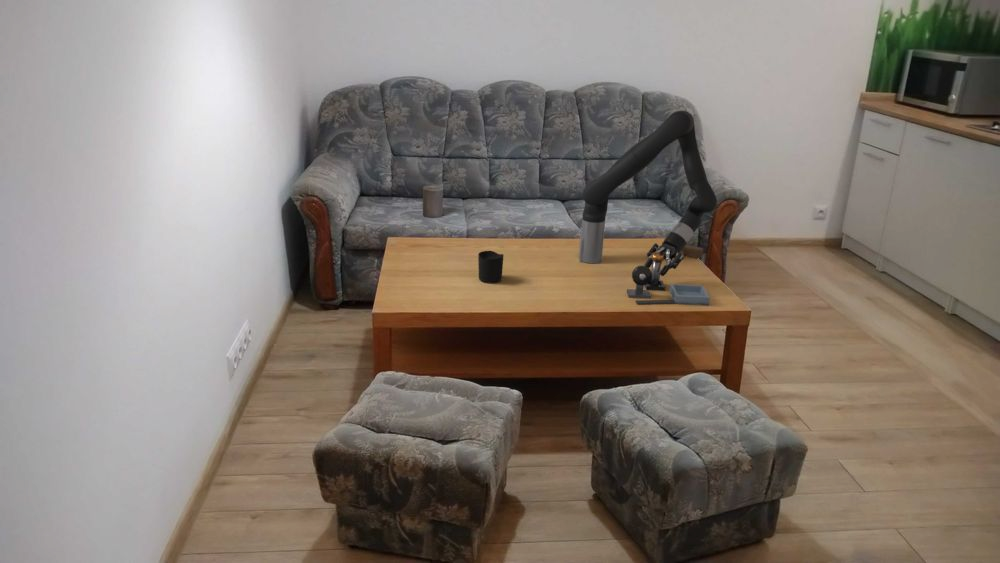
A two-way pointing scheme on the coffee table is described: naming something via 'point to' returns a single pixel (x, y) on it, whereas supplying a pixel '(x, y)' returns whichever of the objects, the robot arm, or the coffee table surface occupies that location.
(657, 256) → the pin
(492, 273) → the pen holder
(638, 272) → the pulley stand
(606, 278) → the coffee table surface
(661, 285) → the frame
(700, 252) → the wooden block set
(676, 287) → the tray
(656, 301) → the strip
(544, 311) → the coffee table surface
